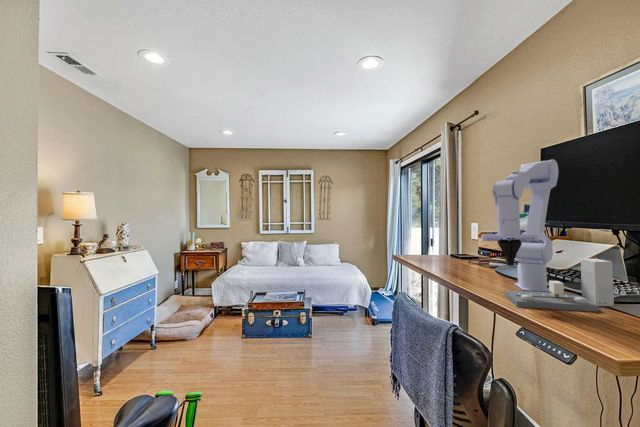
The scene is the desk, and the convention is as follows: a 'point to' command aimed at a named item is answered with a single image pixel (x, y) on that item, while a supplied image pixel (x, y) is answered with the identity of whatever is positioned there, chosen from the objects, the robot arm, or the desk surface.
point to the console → (550, 300)
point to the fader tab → (556, 288)
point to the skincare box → (597, 281)
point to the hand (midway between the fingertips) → (509, 265)
